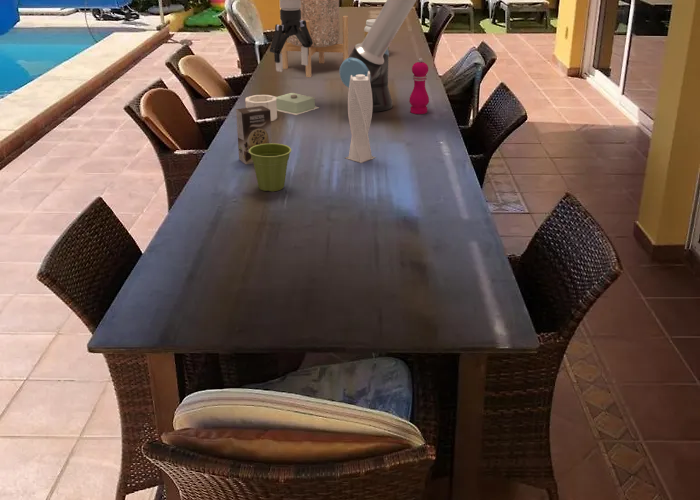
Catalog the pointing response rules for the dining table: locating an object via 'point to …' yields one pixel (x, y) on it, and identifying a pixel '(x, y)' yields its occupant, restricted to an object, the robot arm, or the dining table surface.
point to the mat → (295, 113)
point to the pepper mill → (419, 88)
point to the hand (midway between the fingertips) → (292, 68)
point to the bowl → (263, 103)
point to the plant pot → (270, 165)
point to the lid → (295, 103)
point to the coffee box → (252, 130)
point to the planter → (319, 31)
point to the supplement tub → (367, 28)
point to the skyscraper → (360, 117)
